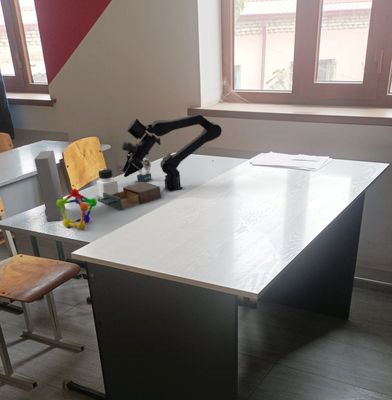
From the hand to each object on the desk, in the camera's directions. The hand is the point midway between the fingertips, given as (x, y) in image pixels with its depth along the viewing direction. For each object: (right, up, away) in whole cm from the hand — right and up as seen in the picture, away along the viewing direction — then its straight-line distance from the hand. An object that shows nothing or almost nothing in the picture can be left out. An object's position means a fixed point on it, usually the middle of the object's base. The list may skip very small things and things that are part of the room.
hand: (123, 173), depth 231 cm
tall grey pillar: (-27, -23, -15) cm, 38 cm away
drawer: (-1, -16, -9) cm, 18 cm away
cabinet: (+9, -11, -2) cm, 14 cm away
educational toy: (-13, -29, -27) cm, 42 cm away
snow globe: (+7, +4, +23) cm, 24 cm away
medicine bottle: (-7, -9, +4) cm, 13 cm away
